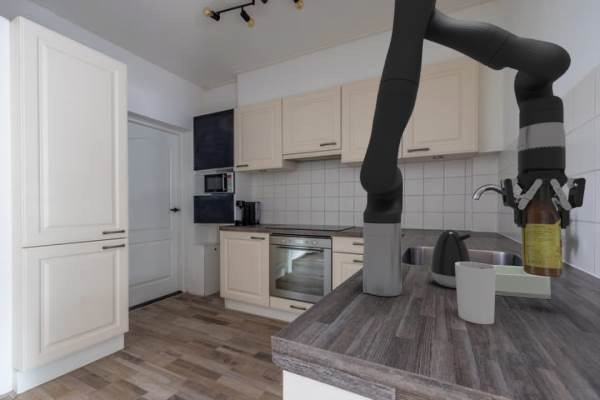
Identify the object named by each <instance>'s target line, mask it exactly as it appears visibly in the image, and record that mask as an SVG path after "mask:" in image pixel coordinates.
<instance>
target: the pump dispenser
mask: <svg viewBox="0 0 600 400" xmlns="http://www.w3.org/2000/svg"><path fill="white" fill-rule="evenodd" d="M470 238H472V235H471V234H470V233H466V234H462V235H461V233H460V232H458V231H457V230H455V229H451V228H450V229H444V230H443V231H442V232H441V233H440V234H439V235H438V237H437V238H436V241H435V243H434V246H433V249H432V253H431V256H430V257H431V259H430V263H429V265H430V266H429V267H430V268H429V270H430V272H431V275H432V278H433V279H434V280H435V282H436V283H437V284H439V285H441V286H443V287H446V288H453V289H457V288H456V273H455V263H456V262H473V261H472V258H471V257H472V256H471V253H470V250H469V248H468V245H467V242H466V241H465V240H467V239H470Z"/></svg>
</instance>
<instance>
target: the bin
mask: <svg viewBox="0 0 600 400" xmlns="http://www.w3.org/2000/svg"><path fill="white" fill-rule="evenodd" d="M492 265H493V266H495V267H496V277H495V296H502V297H504V296H505V297H506V296H507V297H518V298H528V299H529V298H530V299H531V298H533V299H540V300H541V299H542V300H551V298H552V297H551V295H552V294H551V277H544V276H537V275H532V274H528V273H526V272H525V271H524V269H523V267H524V266H520V265H518V266H516V265H502V264H501V265H499V264H496V265H495V264H492Z"/></svg>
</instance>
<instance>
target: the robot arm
mask: <svg viewBox="0 0 600 400" xmlns="http://www.w3.org/2000/svg"><path fill="white" fill-rule="evenodd" d="M436 5H437V0H394V12H393V23H392V31H391V37H390V42H389V45H388V50H387V53H386V57H385V60H384V65H383V68H382V72H381V77H380V81H379V84H378V85H379V86H378V90H377V95H376V102H375V108H374V113H373V117H372V125H371V131H370V138H369V142H368V144H367V147H366V151H365V154H364V158H363V161H362V163H361V167H360V171H359V182H360V185H361V187H362V188H363V190H364V191H365V192H366V206H365V210H364V211H363V213H362V215H363V217H362V218H363V219H362V221H363V224H362V225H363V228H362V229H363V232H362V233H363V240H362V241H363V245H362V246H363V254H362V292H363V293H366V294H370V295H373V296H379V297H397V296H400V295H401V294H403V293H402V292H403V280H402V279H403V274H402V273H403V267H402V264H403V263H402V261H403V259H402V258H403V257H402V255H403V254H402V253H403V252H402V250H403V249H402V247H403V246H402V215H403V214H402V213H403V209H404V207H403V205H404V179H403V172H402V171H401V169H400V168H399V166H398V158H399V151H400V144H401V140H402V137H403V135H404V132H405V131H406V128H407V125H408V123H410V120H411V117H412V115H413V112H414V109H415V107H416V106H415V105H416V102H417V97H418V91H419V88H420V81H421V80H420V79H421V73H422V66H423V65H422V63H423V62H422V61H423V53H424V52H423V49H424V48H423V47H424V40H425V41H429V42H432V43H434V44H435V43H436V44H438V45H441V46H444V47H445V48H446V47H447V48H449V49H451V50H454V51H456V52H458V53H460V54H462V55H464V56H466V57H468V58H470V59H472V60H474V61H476V62H478V63H479V64H481V65H483V66H485V67H488V68H489V69H492V70H494V71H501V70H504V69H505V68H509V69H511V70H515V71H517V72H516V74H515V76H514V81H513V91H514V95H515V96H514V97H515V100H516V104H517V107H518V109H519V113H518V118H519V119H518V121H519V122H518V123H519V124H518V129H519V130H518V136H517V144H516V145H517V146H516V149H517V172H518V173H517V176H516V178H504V179H501V180H500V190H501V195H502V196H501V197H502V204H503V206H504V207H508V208H510V209H512V210H513V223H514V225H516V228H525V227H526V210H524V208H525V207H526V205H527V203H528V202H529V201H530V200H531V199H532V197H533V196H536V194H537V189H538V188H539V187H540V185H541V184H542V180H540V179H550V180H549V184H550V186H549V189H550V190H549V193H550V196H551V197H552V201H553V203H554V206H555V208H556V210H557V212H558V214H559V216H560V218H561V230H566V229H567V227H569V226H570V224H571V223H570V220H571V219H570V218H571V217H570V213H571V212H570V211H571V210H573V209H577V208H581V207H583V204H584V199H585V198H584V197H585V191H586V183H587V180H586V178H585V177H568V176H567V174H566V172H565V171H566V168H567V166H566V165H567V164H566V163H567V162H566V161H567V160H566V158H567V154H566V153H567V152H566V147H567V146H566V145H567V144H566V140H567V139H566V136H567V135H566V131H565V123H564V121H565V119H564V117H565V115H564V114H565V113H564V112H565V111H564V109H565V108H564V102H563V99H562V98H561V97H560V96H557V95H555V94H554V90H553V85H554V83H555V82H556V81H557V80H559V79H560V78H561V77H563V75H565V74H566V73H567V71H569V68H570V66H571V63H572V58H571V55H570V54H569V52H568V50H566V49H565V48H564V47H562V46H561V45H559V44H557V43H553V42H550V41H545V40H542V39H541V40H540V39H535V38H529V37H522V36H518V35H516V34H514V33H513V32H510V31H508V30H506V29H504V28H503V27H501V26H498V25H496V24H493V23H490V22H486V21H479V20H478V21H477V20H462V19H456V18H453V17H451V16H448V15H447V14H445V13H443V12H442V11H440V10H439V9H438V8H436ZM516 185H517V186H518V187H519V188H520V192H519V193H518V195H517V196H516V197H517V199H516V200H515V195H514V189H515V188H516ZM565 185H566V187H567V188H568V196H567V194H566V193H565V192H564V190H563V187H564V186H565Z"/></svg>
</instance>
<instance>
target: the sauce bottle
mask: <svg viewBox="0 0 600 400" xmlns="http://www.w3.org/2000/svg"><path fill="white" fill-rule="evenodd" d="M540 180H542V184H541V185H540V187H539V188H538V189H537V194H536V196H533V197H532V199H531V200H530V201H529V202H528V203H527V205H526V207H525V208H524V210H526V227H525V228H521V227H520V228H521V229H520V230H521V232H520V233H521V258H522V265H523V266H522V267H523V269H524V271H525V272H526V273H528V274H532V275H537V276H544V277H550V278H559V277H561V276H562V275H563V274H562V273H563V268H564V267H563V266H564V265H563V245H562V243H563V242H562V241H563V240H562V229H561V218H560V216H559V214H558V212H557V211H558V209H557V208H556V206H555V205H554V203H553V201H552V197H551V196H550V193H549V190H550V189H549V186H550V184H549V180H550V179H540Z"/></svg>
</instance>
